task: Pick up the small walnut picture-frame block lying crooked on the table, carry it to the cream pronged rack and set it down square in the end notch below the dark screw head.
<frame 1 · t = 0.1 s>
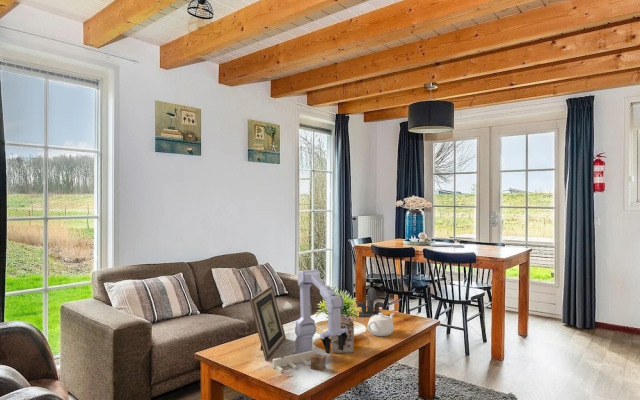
hand: (334, 351, 196), 10 cm above the table, fingers open, 7 cm apart
teapot: (381, 333, 253), on the table
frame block: (318, 368, 201), on the table
decorative jar: (341, 349, 226), on the table
picture frame: (268, 348, 227), on the table
cream pronged rack: (295, 362, 207), on the table
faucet: (371, 317, 286), on the table
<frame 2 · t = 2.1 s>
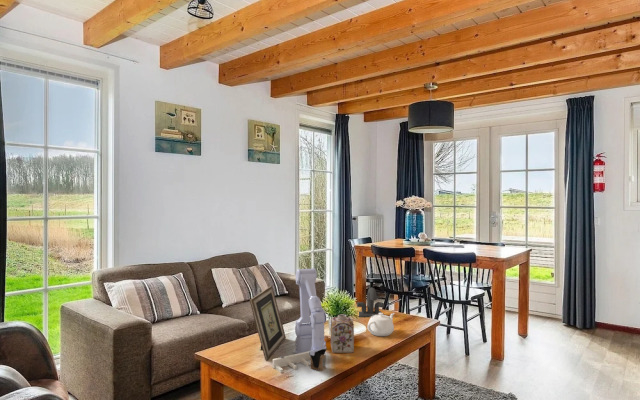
hand: (318, 365, 201), 1 cm above the table, fingers closed on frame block, 4 cm apart
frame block: (318, 368, 201), on the table, touching gripper
everything else where it was.
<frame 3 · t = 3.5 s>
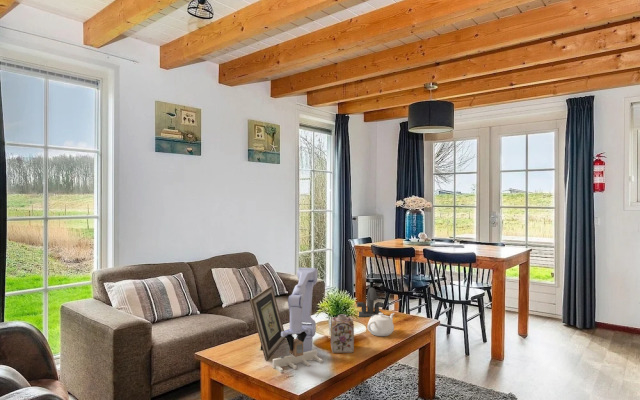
hand: (295, 349, 200), 9 cm above the table, fingers closed on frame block, 4 cm apart
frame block: (296, 353, 200), point 7 cm above the table, touching gripper
everything else where it was.
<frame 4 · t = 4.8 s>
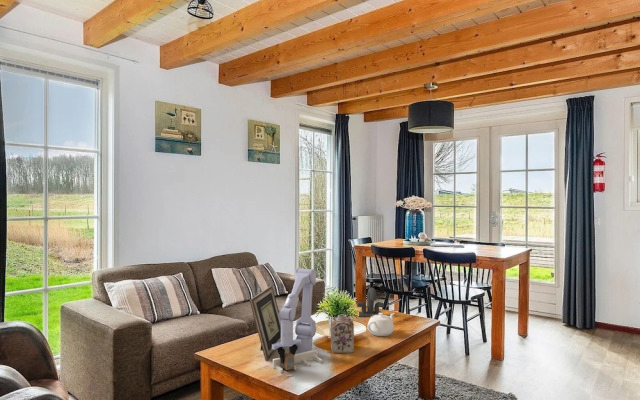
hand: (286, 361, 200), 4 cm above the table, fingers closed on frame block, 4 cm apart
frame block: (287, 366, 199), point 1 cm above the table, touching gripper
everything else where it was.
when the fingers open (3 cm above the table, at t = 5.4 s): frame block stays where it is, on the table.
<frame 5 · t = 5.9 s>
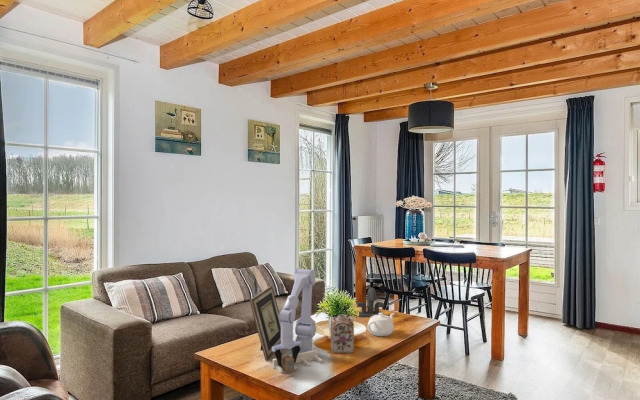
hand: (286, 363, 200), 3 cm above the table, fingers open, 7 cm apart
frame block: (287, 369, 199), on the table
everything else where it was.
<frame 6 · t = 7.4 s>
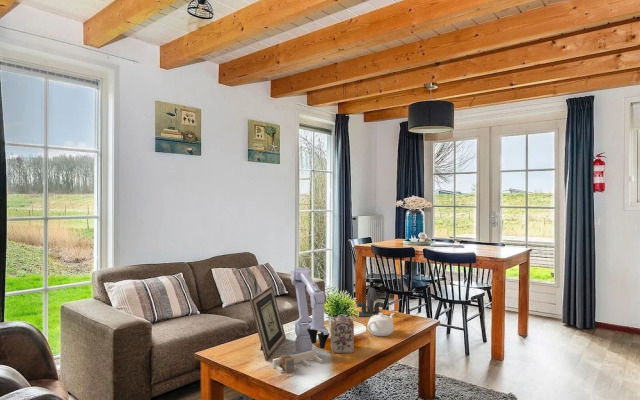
hand: (318, 345, 203), 10 cm above the table, fingers open, 7 cm apart
nothing on the table moved.
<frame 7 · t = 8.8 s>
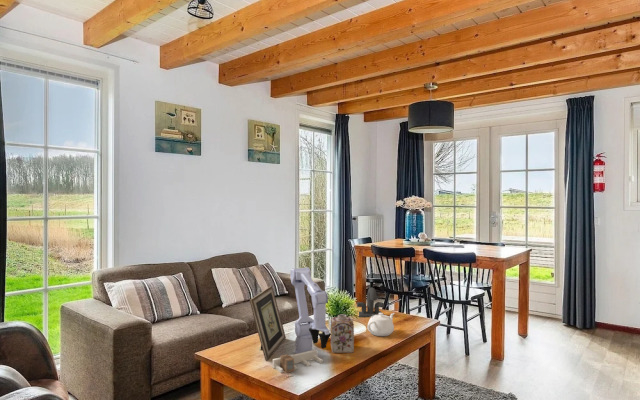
hand: (319, 345, 204), 10 cm above the table, fingers open, 7 cm apart
nothing on the table moved.
at the end: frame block 0.1 cm from the target spot on the cream pronged rack, point 0.0 cm above the cream pronged rack's base; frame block tilted 0°; the gripper is holding nothing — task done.
